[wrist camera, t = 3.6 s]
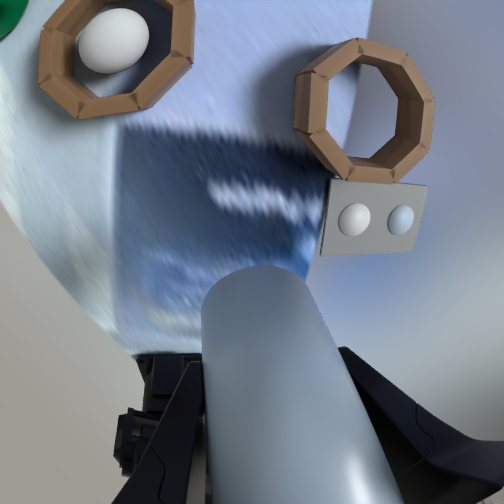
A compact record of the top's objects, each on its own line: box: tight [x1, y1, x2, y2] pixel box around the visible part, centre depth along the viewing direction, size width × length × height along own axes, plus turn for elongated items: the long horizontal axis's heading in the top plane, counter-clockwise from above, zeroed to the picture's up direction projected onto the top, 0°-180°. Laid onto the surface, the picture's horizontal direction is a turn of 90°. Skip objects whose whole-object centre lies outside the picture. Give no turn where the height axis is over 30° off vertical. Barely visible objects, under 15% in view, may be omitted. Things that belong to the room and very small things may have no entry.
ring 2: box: [293, 38, 435, 185], centre depth 16 cm, size 9×9×3 cm
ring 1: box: [38, 0, 196, 120], centre depth 12 cm, size 9×9×3 cm
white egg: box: [79, 8, 149, 74], centre depth 11 cm, size 4×4×4 cm
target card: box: [320, 178, 428, 256], centre depth 21 cm, size 6×9×1 cm, turn 88°
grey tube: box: [201, 266, 405, 504], centre depth 8 cm, size 4×4×9 cm
